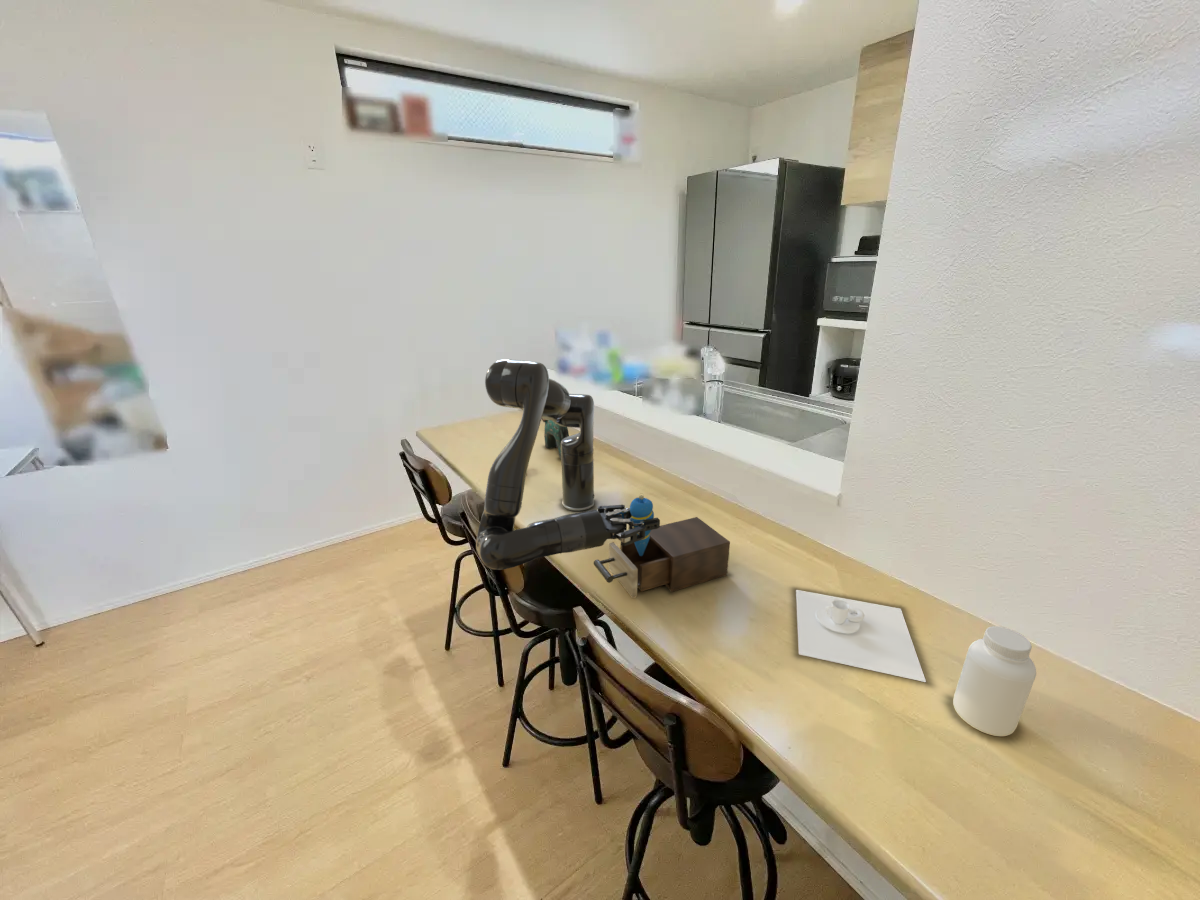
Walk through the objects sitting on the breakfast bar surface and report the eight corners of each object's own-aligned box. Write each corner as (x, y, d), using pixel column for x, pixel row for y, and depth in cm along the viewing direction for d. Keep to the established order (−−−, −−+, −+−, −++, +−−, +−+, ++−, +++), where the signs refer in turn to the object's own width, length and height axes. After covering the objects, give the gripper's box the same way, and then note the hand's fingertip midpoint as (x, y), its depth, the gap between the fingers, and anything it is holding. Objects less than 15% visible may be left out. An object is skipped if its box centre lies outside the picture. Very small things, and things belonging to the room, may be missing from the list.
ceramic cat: (541, 445, 194) (538, 396, 187) (556, 443, 196) (554, 394, 189) (558, 462, 177) (556, 408, 170) (575, 459, 179) (573, 406, 172)
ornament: (650, 563, 104) (653, 499, 99) (626, 560, 105) (628, 497, 100) (653, 550, 109) (656, 489, 104) (630, 548, 110) (631, 487, 105)
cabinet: (671, 592, 106) (673, 557, 103) (642, 561, 117) (643, 529, 114) (727, 575, 111) (730, 541, 108) (694, 548, 122) (696, 516, 119)
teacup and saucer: (861, 613, 99) (865, 596, 97) (867, 640, 92) (871, 622, 90) (814, 604, 101) (817, 588, 100) (816, 630, 94) (819, 612, 93)
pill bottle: (939, 696, 80) (962, 621, 74) (985, 692, 80) (1011, 617, 75) (978, 740, 72) (1007, 660, 67) (1029, 736, 73) (1061, 656, 68)
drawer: (611, 604, 101) (611, 575, 98) (589, 574, 111) (589, 547, 108) (687, 581, 108) (688, 554, 105) (660, 555, 118) (661, 530, 115)
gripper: (590, 531, 92) (670, 515, 98) (566, 500, 104) (638, 487, 110) (590, 566, 94) (668, 548, 100) (567, 531, 107) (637, 517, 113)
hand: (652, 516), depth 105 cm, fingers closed on ornament, 5 cm apart
